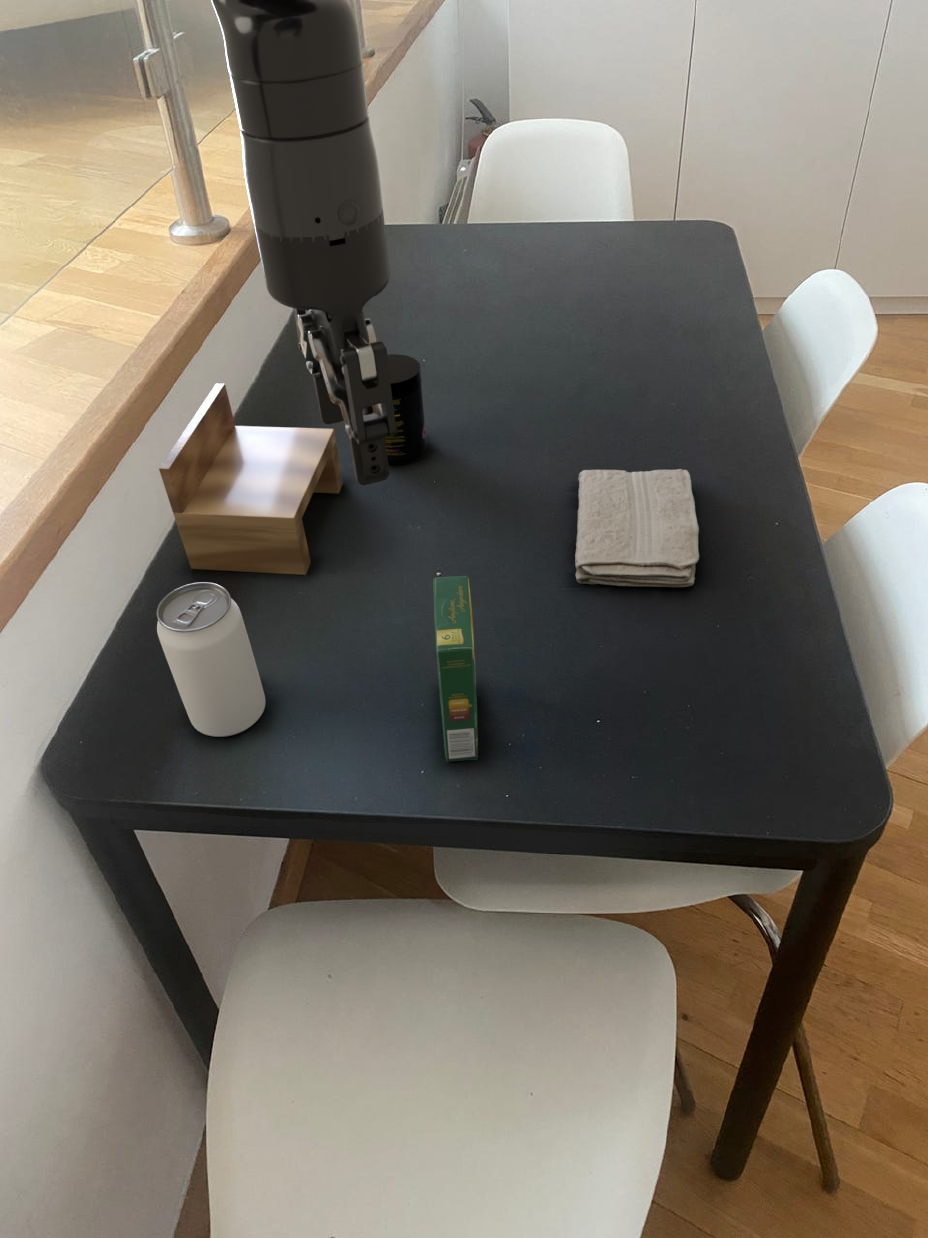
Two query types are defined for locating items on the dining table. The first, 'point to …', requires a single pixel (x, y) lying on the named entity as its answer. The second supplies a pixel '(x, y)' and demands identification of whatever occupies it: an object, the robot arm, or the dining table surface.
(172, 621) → the can
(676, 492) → the washcloth
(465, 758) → the coffee box
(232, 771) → the dining table surface
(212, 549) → the shelf
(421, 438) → the supplement container
